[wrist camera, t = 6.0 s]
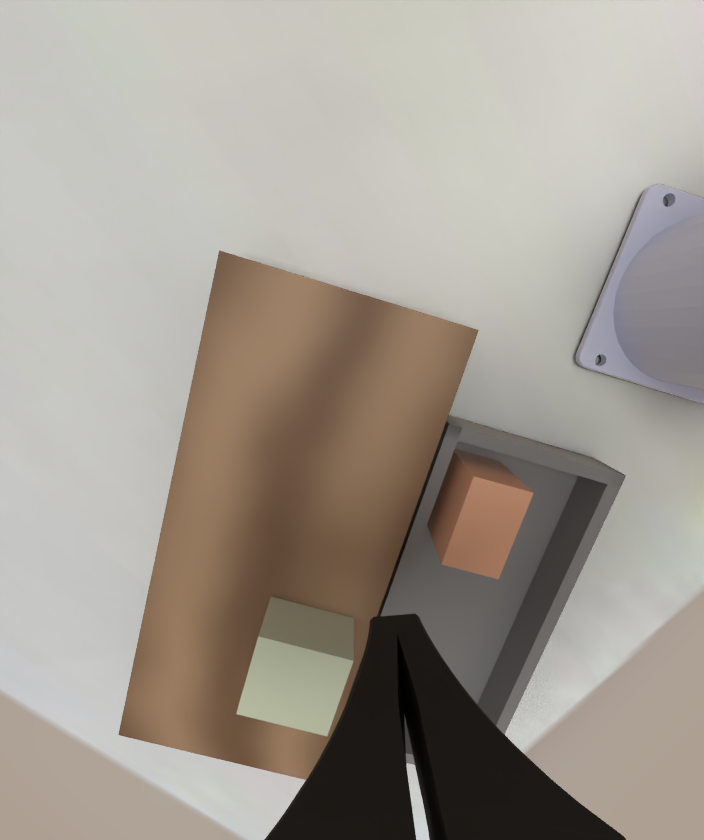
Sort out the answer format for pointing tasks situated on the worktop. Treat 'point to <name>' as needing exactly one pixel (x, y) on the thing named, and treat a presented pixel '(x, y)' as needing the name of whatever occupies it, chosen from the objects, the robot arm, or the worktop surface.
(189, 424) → the board
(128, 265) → the worktop surface
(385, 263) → the worktop surface
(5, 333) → the worktop surface
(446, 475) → the tile terracotta
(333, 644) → the tile sage
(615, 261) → the robot arm
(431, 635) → the tray
